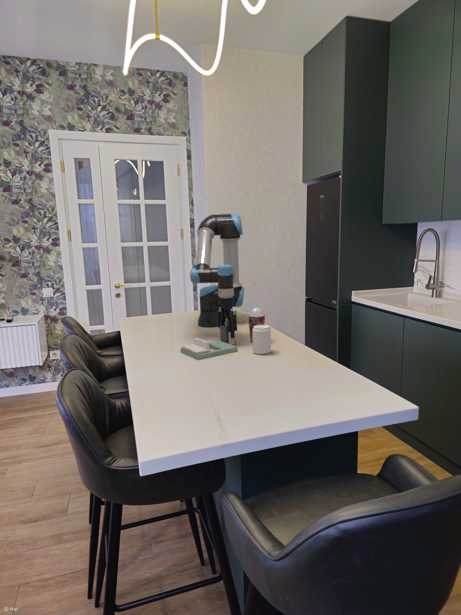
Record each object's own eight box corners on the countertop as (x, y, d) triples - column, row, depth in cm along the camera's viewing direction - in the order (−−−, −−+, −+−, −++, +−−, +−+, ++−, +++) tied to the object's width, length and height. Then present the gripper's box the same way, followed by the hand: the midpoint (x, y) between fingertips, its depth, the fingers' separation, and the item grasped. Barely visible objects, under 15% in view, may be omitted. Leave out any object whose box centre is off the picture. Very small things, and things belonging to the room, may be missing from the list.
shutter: (195, 345, 188) (195, 337, 187) (210, 351, 177) (210, 342, 177) (182, 347, 184) (182, 339, 183) (196, 354, 173) (196, 345, 173)
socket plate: (218, 344, 197) (218, 340, 197) (237, 351, 184) (237, 346, 184) (180, 352, 185) (180, 347, 185) (198, 360, 172) (197, 355, 172)
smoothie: (265, 339, 203) (265, 300, 199) (265, 343, 195) (264, 303, 191) (249, 339, 204) (248, 300, 200) (248, 344, 196) (247, 303, 192)
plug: (228, 341, 201) (228, 320, 199) (234, 343, 197) (234, 321, 195) (220, 343, 198) (219, 321, 196) (226, 345, 194) (225, 323, 192)
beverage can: (269, 355, 176) (269, 328, 174) (251, 354, 178) (251, 328, 176) (271, 350, 184) (271, 324, 182) (254, 349, 185) (253, 324, 183)
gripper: (208, 295, 199) (210, 340, 203) (231, 299, 184) (232, 348, 187) (221, 294, 204) (222, 338, 208) (244, 298, 188) (245, 345, 192)
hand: (227, 343), depth 197 cm, fingers open, 7 cm apart
